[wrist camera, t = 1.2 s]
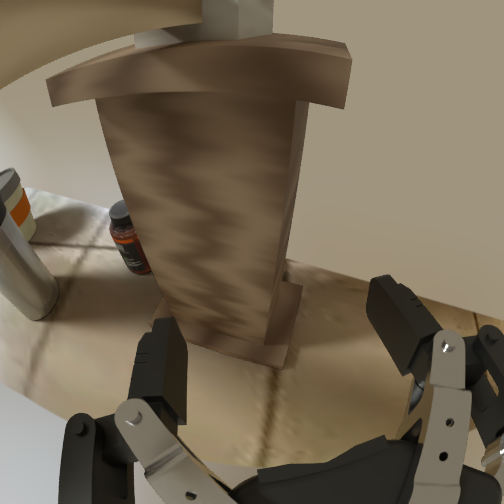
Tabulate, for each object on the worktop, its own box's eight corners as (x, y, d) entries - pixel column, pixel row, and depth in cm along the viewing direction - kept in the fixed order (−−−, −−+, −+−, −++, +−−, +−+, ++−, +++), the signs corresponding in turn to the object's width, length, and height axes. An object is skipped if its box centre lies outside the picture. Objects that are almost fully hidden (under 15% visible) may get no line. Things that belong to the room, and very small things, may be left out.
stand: (151, 328, 34) (38, 82, 10) (186, 261, 42) (145, 40, 17) (281, 369, 31) (380, 67, 7) (301, 291, 39) (358, 46, 14)
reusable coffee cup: (19, 261, 40) (-16, 208, 29) (-2, 250, 42) (-32, 204, 31) (50, 219, 48) (24, 166, 37) (25, 213, 50) (2, 167, 38)
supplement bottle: (162, 244, 44) (145, 191, 35) (160, 273, 40) (140, 219, 31) (129, 249, 43) (107, 197, 34) (125, 277, 39) (98, 226, 31)
